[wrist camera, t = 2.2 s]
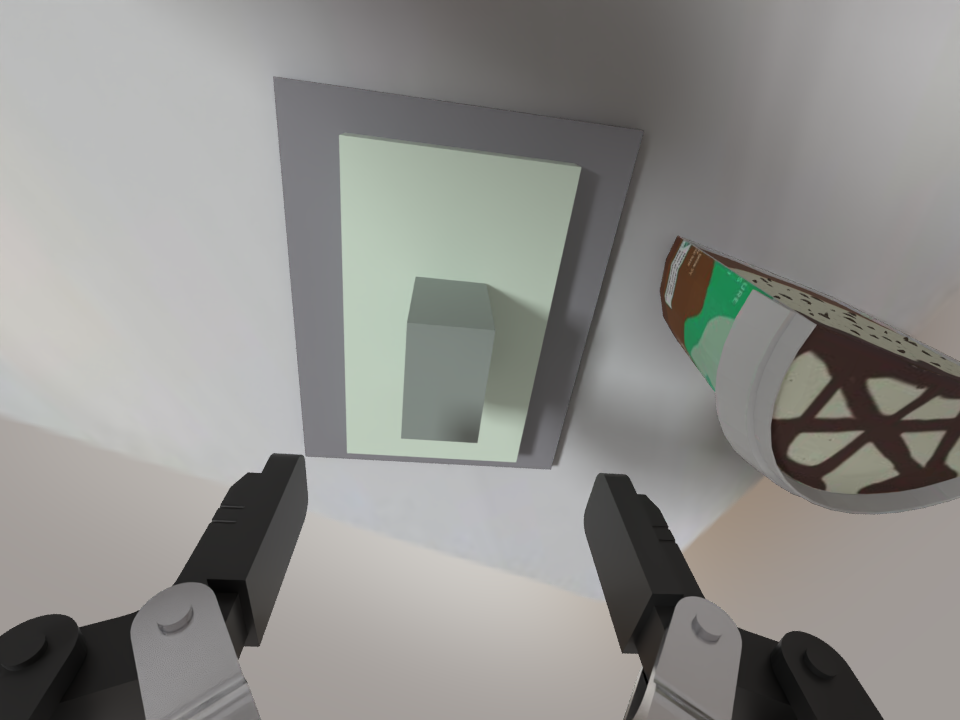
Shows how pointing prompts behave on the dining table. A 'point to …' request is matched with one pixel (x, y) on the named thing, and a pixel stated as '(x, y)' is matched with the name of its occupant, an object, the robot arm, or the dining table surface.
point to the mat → (336, 110)
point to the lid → (446, 293)
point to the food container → (817, 386)
